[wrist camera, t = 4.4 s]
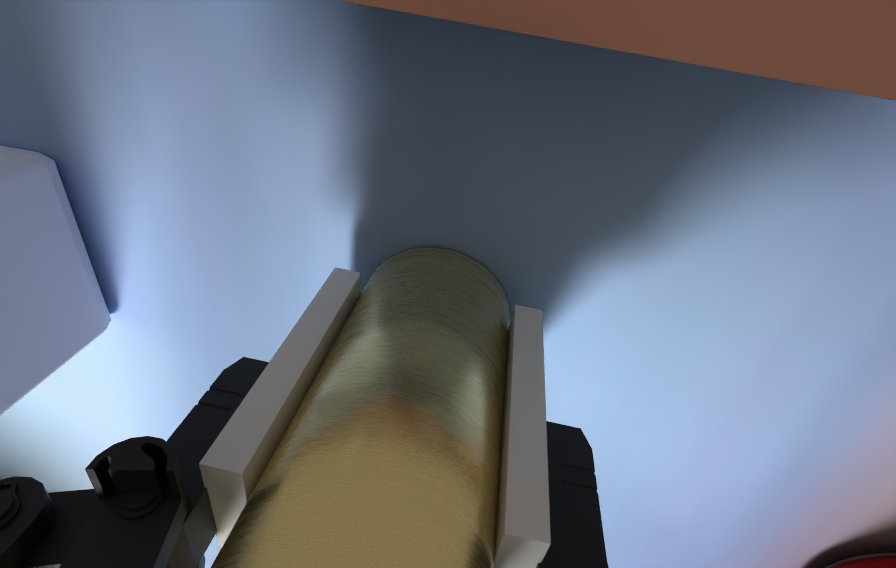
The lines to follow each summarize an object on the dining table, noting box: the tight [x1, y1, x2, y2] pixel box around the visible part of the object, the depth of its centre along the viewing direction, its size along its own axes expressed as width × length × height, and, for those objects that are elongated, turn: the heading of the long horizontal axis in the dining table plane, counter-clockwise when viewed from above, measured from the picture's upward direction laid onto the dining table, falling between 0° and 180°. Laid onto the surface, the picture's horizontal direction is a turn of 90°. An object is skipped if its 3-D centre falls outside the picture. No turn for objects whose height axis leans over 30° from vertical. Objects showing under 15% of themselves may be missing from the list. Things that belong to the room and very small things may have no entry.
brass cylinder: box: [211, 248, 509, 568], centre depth 10 cm, size 4×4×10 cm
